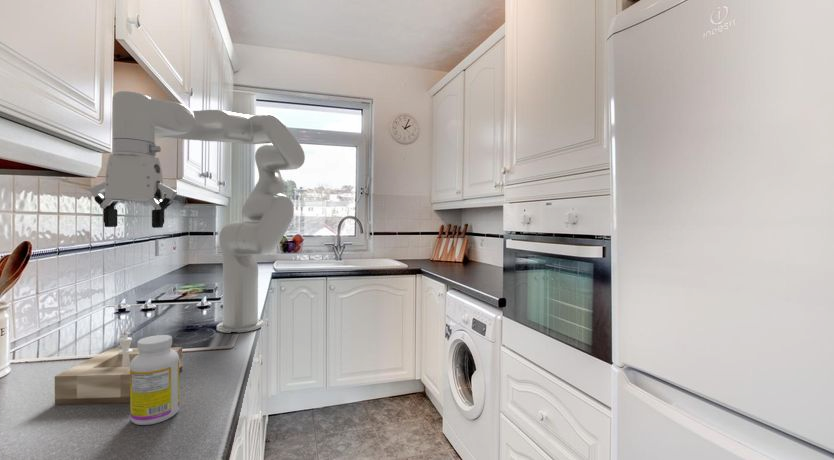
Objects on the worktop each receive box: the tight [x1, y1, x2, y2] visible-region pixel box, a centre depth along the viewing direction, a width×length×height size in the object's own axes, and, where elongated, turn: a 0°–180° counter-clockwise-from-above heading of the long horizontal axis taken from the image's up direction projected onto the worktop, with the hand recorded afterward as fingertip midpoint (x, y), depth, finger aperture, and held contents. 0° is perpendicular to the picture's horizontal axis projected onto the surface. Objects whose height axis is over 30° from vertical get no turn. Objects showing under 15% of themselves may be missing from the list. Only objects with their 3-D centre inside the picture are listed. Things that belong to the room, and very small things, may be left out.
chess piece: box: [118, 328, 133, 367], centre depth 73 cm, size 5×5×10 cm
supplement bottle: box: [129, 334, 180, 426], centre depth 62 cm, size 7×7×13 cm
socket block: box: [54, 346, 183, 406], centre depth 73 cm, size 14×14×5 cm
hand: (134, 227), depth 84 cm, fingers open, 9 cm apart
